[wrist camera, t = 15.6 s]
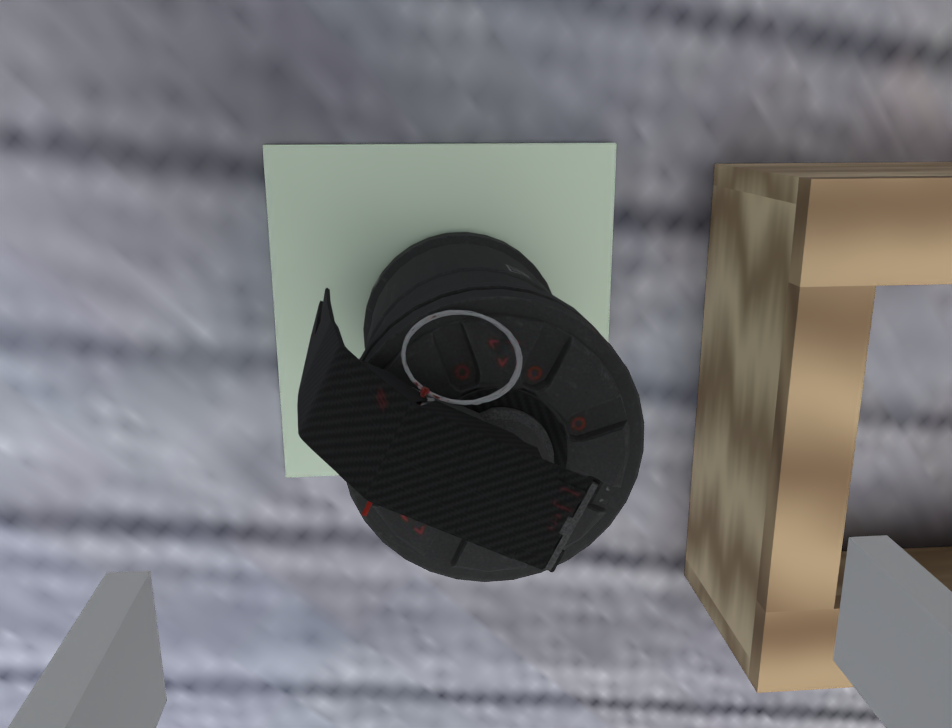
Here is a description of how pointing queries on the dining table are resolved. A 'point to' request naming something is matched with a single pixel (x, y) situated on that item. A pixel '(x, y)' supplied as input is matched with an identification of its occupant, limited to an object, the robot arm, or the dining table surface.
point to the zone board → (423, 232)
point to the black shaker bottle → (473, 413)
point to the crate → (796, 393)
